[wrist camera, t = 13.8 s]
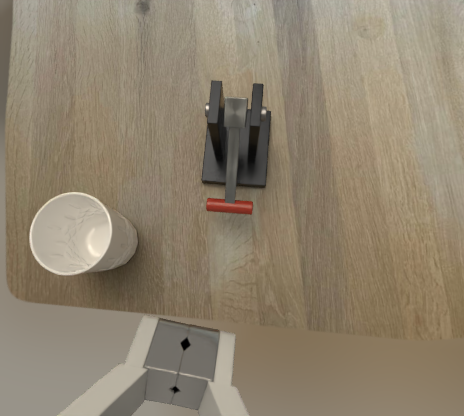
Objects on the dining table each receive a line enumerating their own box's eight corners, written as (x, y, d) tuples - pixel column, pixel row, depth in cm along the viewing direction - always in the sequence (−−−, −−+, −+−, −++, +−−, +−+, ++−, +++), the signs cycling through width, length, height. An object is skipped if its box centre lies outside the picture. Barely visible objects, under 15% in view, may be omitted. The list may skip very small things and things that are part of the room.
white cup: (76, 272, 40) (23, 273, 30) (84, 209, 41) (35, 190, 32) (140, 274, 40) (107, 276, 30) (145, 211, 41) (115, 193, 31)
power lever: (251, 210, 37) (251, 218, 35) (208, 207, 37) (205, 214, 35) (261, 98, 33) (262, 99, 31) (213, 95, 33) (210, 95, 31)
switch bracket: (265, 188, 41) (274, 156, 30) (202, 183, 42) (187, 150, 30) (270, 115, 43) (281, 58, 32) (210, 110, 44) (199, 53, 32)
